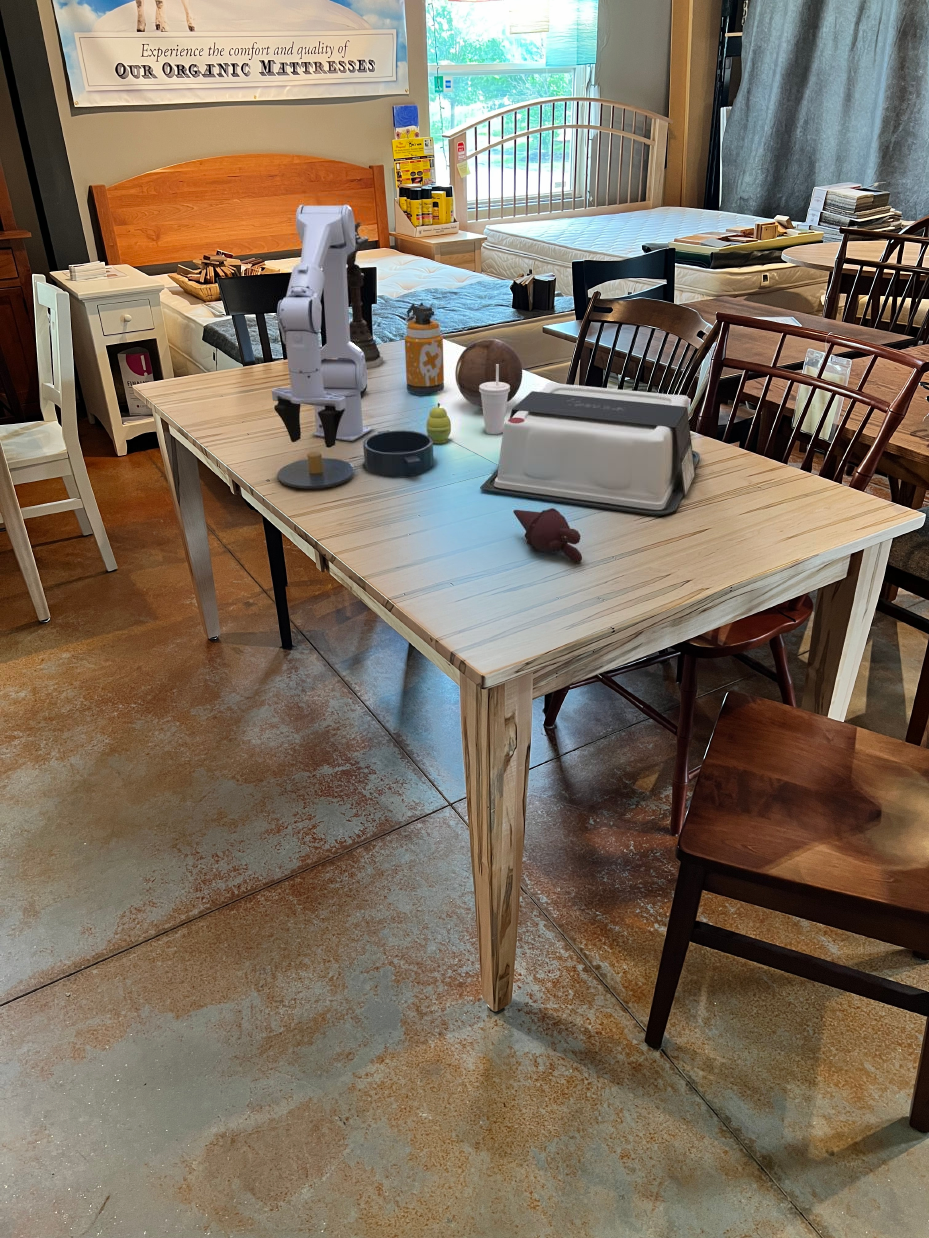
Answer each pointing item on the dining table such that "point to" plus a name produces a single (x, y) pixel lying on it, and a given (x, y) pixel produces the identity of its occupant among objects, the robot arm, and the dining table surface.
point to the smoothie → (494, 404)
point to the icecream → (549, 532)
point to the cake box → (598, 449)
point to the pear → (438, 425)
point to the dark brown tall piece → (358, 326)
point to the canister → (423, 352)
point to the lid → (315, 472)
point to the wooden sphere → (487, 368)
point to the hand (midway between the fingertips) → (313, 443)
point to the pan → (398, 453)
